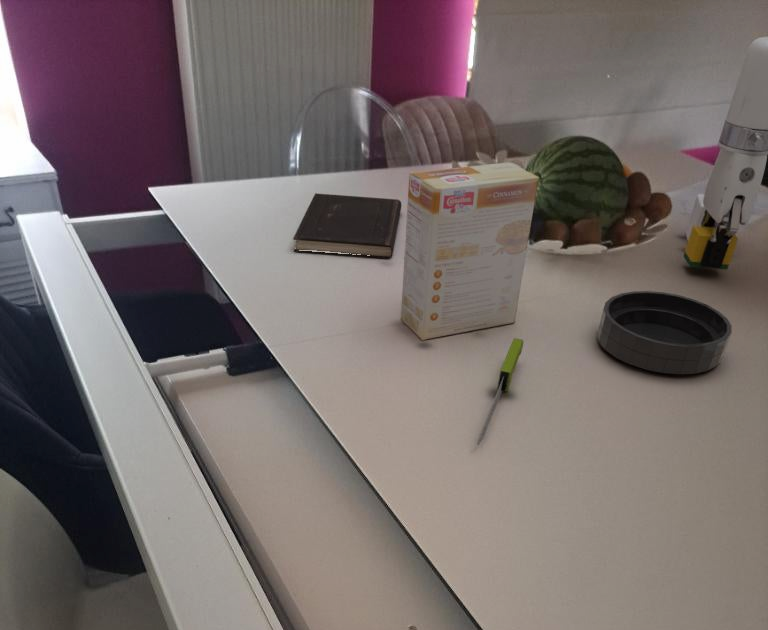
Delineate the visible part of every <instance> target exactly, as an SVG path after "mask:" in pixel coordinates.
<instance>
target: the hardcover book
mask: <svg viewBox="0 0 768 630" xmlns="http://www.w3.org/2000/svg"><path fill="white" fill-rule="evenodd" d="M401 212H402V201H401V200H400V199H396V198H382V197H372V196H371V197H369V196H358V195H357V196H355V195H341V194H328V193H317V192H315V193H314V195H313V197H312V199H311V201H310V203H309V205H308V207H307V208H306V211H305V213H304V216H303V218H302V219H301V221H300V223H299V226H298V227H297V230H296V232H295V233H294V235H293V238H292V239H293V241H295V246H294V248H295V247H296V249H295V250H294V249H293V252H294V253H305V254H319V255H329V256H343V257H356V258H369V259H382V260H389V259H391V258H392V257H393V254H394V253H393V252H394V248H395V243H396V237H397V231H398V227H399V221H400V216H401ZM299 250H317V251H330V252H341V253H349V254H338V253H325V252H312V251H299ZM350 253H351V254H350ZM352 254H356V255H352ZM357 254H361V255H357ZM367 255H370V256H367Z"/></svg>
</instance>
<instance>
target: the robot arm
mask: <svg viewBox="0 0 768 630" xmlns="http://www.w3.org/2000/svg"><path fill="white" fill-rule="evenodd" d="M717 146H718V147H719V148H720V150H719V152H718V155H717V156H716V160H715V162H714V164H713V168H712V170H711V172H712V173H711V172H710V174H711V176H710V175H709V177H710V179H709V178H708V180H709V182H708V181H707V183H708V185H707V184H706V186H707V188H706V187H705V190H706V192H705V191H704V193H705V195H704V200H703V204H704V207H705V208H706V210H705V212H704V214H705V215H704V217H703V220H702V222H701V226H703V227H714V229H713V232H712V236H711V240H708V242H707V245H706V248H705V251H704V254H703V257H702V260H701V263H700V264H701V266H702V267H713V268H720V267H721V266H722V263H723V260H724V257H725V254H726V252H727V249H728V246H729V244H730V242H731V240H732V237H733V235H734V234H736V233H737V234H738V232H739V228H740V226H746V225H747V224H749V222H750V219H751V217H752V213H753V211H754V208H755V204H756V201H757V197H758V194H759V192H760V189H761V186H762V185H761V184H762V182H763V177H764V174H765V169H766V166H767V161H768V36H762V37H758V38H756V39H754V40H752V42H751V44H749V46H748V49H747V51H746V54H745V57H744V59H743V64H742V66H741V69H740V73H739V75H738V79H737V82H736V86H735V89H734V92H733V95H732V97H731V101H730V104H729V107H728V111H727V113H726V117H725V120H724V123H723V125H722V129H721V133H720V135H719V138H718V142H717ZM724 217H728V218H729V220H728V221H723V219H724ZM739 223H740V226H739ZM721 225H722V226H726V228H722V229H721V230H720V231H719V229H720V226H721ZM737 234H736V235H737ZM702 267H701V268H702ZM713 268H712V269H713Z"/></svg>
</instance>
